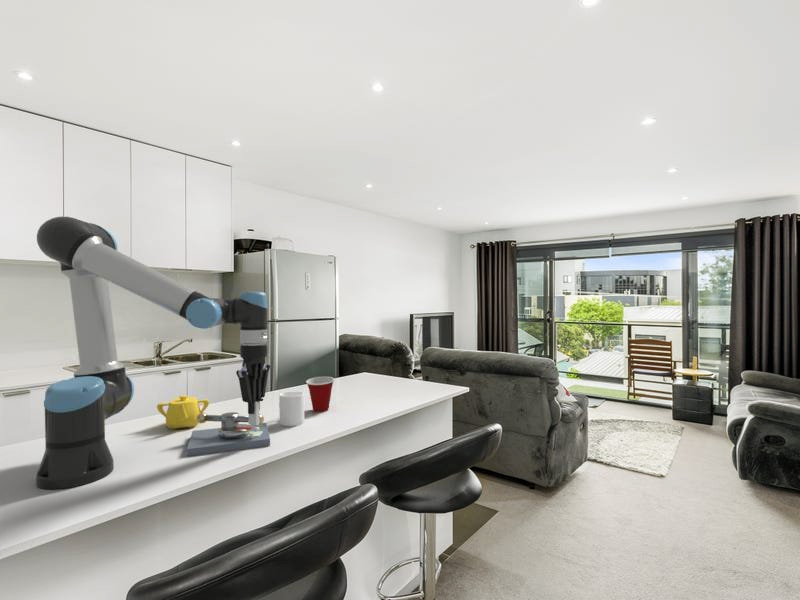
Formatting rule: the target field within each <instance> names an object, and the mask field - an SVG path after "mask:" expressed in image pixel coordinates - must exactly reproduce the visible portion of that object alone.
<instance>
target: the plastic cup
mask: <svg viewBox="0 0 800 600" xmlns="http://www.w3.org/2000/svg"><path fill="white" fill-rule="evenodd" d="M334 382H335V378H334V377H332V376H316V377H311V378H309V379H307V380H306V382H305V383H306V384H307V387H308V391H309V396H310V402H311V406H312V410H313V412H315V413H323V412H328V411H329V409H330V402H331V397H332V395H331V394H332V389H333V384H334Z"/></svg>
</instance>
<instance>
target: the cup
mask: <svg viewBox="0 0 800 600" xmlns="http://www.w3.org/2000/svg"><path fill="white" fill-rule="evenodd" d="M278 397H279V398H278V399H279V402H278V404H279V405H278V406H279V407H278V408H279V424H280V425H281V426H283V427H297V426H300V425H303V423H305V393H304V391H299V390H297V391H293V390H291V391H285V392H282V393H280V394H279V396H278Z"/></svg>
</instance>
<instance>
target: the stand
mask: <svg viewBox="0 0 800 600" xmlns="http://www.w3.org/2000/svg"><path fill="white" fill-rule="evenodd" d="M249 425H250V426H253V429H251V432H250V433H249V434H247V435H245V436H241V437H236V438H222V437H220V436H219V429H220V428H221V427H217V428H216V427H215V428H208V429H205V428H204V429H197V430H193V431H192V432H191V435H190V438H189V441H188V444H187V447H186V457H192V456H199V455H207V454H213V453H214V454H216V453H222V452H223V453H224V452H230V451H238V450H246V449H254V448H262V447H268V446H271V437H270V433H269V430H268V425H267V423H266V422H263V423H262V424H261V425H252V424H249Z"/></svg>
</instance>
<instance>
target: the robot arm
mask: <svg viewBox="0 0 800 600" xmlns="http://www.w3.org/2000/svg"><path fill="white" fill-rule="evenodd" d="M36 242H37V245H38V247H39V249H40V250H41V252H42V253H43V254H44V255H45V256H46V257H47V258H50V259H51V260H54V261H57V262H58V263H59V264H60V270H61V272H60V273H61V274H63V275H64V276H66V277H67V278H68V280H69V286H70V293H71V294H70V295H71V303H72V312H73V319H74V327H75V333H76V334H75V336H76V344H77V352H78V360H79V367H78V368H77V369H76V371H74V373H73V377H71V378H68V379H63V380H59V381H57V382H55V383H52V384H51V385H49V386H48V387H47V388H46V391H45V392H44V393H45V395H44V400H43V407H44V433H45V435H44V438H45V440H44V441H45V449H44V453H43V456H42V458H41V461H40V464H39V467H38V470H37V471H36V472H37V473H36V477H35V479H36V481H35V483H36V487H38V488H39V489H43V490H44V489H45V490H60V489H61V490H62V489H67V488H74V487H78V486H82V485H85V484H88V483H92V482H95V481H99V480H100V479H102V478H104V477H106V476H108V475H109V474H111V473H112V472H113V471H114V467H115V466H114V465H115V464H114V463H115V462H114V458H113V455H112V453H111V451H110V449H109V446H108V443H107V441H106V426H105V425H106V423H105V421H106V420H107V419H109V418H111V417H112V416H114V415H117V414H119V413H121V412H122V411H123V410H124V409H125V408H126V407H127V406H128V405H129V404H130V402H131V401H132V400H133V397H134V394H135V386H134V382H133V380H132V379H131V378H130V376H129V375H127V372H126V366H125V364H123V363H122V362H120V361H119V359H118V353H117V352H118V351H117V343H116V335H115V327H114V319H113V318H114V317H113V311H112V303H111V294H110V287H109V286H110V285H109V282H110V283H113V284H114V285H115V286H118V287H120V288H122V289H124V290H127V291H129V292H130V293H133V295H134V294H135V295H137V296H138V297H141V298H142V299H145V300H147V301H149V302H150V303H152V304H155V305H156V306H159V307H161V308H162V309H165V310H167V311H169V312H171V313H173V314H175V315H176V316H179V317H180V318H182V319H185V320H186V321H187V322H188V323H189V324H190V325H191V326H192V327H195V328H197V329H201V330H202V329H204V330H205V329H209V328H210V329H211V328H213V327H216V326H219V325H239V326H240V327H239V329H240V330H239V331H240V332H239V342H240V344H241V345H240V347H239V348H240V350H239V351H240V353H239V354H240V355H239V357H240V358H241V359H243V360H242V367H241V368H240V369H239V370H236V373H235V374H236V376H237V378H238V383H239V387H240V394H241V399H242V402H244V403H247V413H248V416H249V422H248V425H251V424H252V425H257V424H259V414H260V411H261V402H263V401H264V398H265V397H266V390H267V383H268V376H269V371H270V368H271V365H270V364H266V361H265V358H266V357H267V356H268V345H267V342H268V297H267V296H268V295H267V294H266V292H264V291H242V292H240V295H239V298H238V297H236V298H211V297H210V296H209V297H208V296H207V295H204V294H203V293H201V292H198V291H196V290H194V289H192V288H190V287H189V286H187V285H185V284H183V283H181V282H178V281H177V280H175V279H173V278H171V277H169V276H167V275H165V274H163V273H162V272H159V271H158V270H155V269H154V268H151V267H149V266H147V265H146V264H144V263H141V262H139V261H137V260H136V259H134V258H132V257H130V256H129V255H126V254H125V253H122V252H120V251H119V250H118V243H117V241H116V238H115V237H114V235H112V233H111V232H109V230H107V229H105V228H103V227H102V226H100V225H99V224H96V223H91V222H87V221H84V220H80V219H77V218H74V217H71V216H55V217H52V218H50V219H47V220H46V221H45V222H44V223H43V224H41V225H40V226H39V228H38V229H37V232H36Z"/></svg>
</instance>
